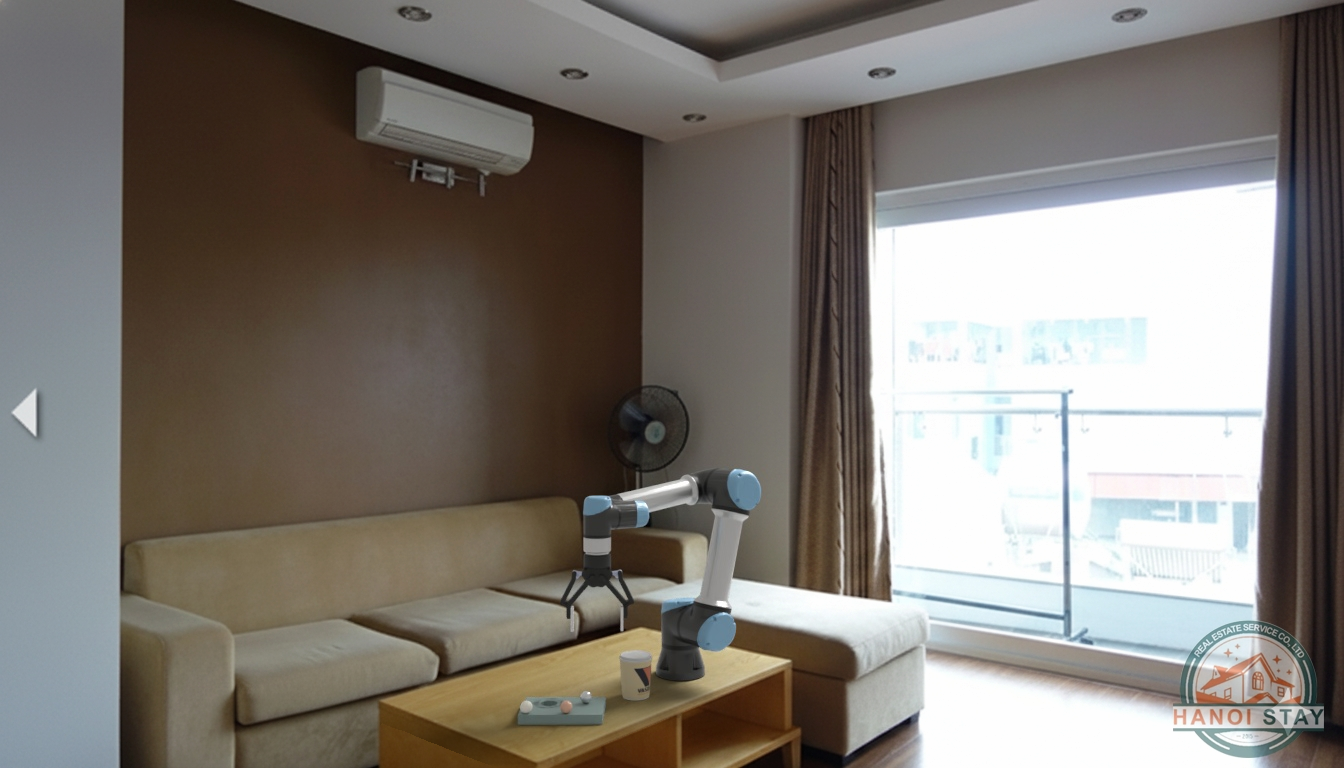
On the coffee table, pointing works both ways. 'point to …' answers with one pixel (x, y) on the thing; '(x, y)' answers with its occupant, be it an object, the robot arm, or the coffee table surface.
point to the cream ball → (526, 706)
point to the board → (551, 714)
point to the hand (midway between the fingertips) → (597, 630)
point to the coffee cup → (635, 674)
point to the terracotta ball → (566, 706)
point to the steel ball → (586, 697)
